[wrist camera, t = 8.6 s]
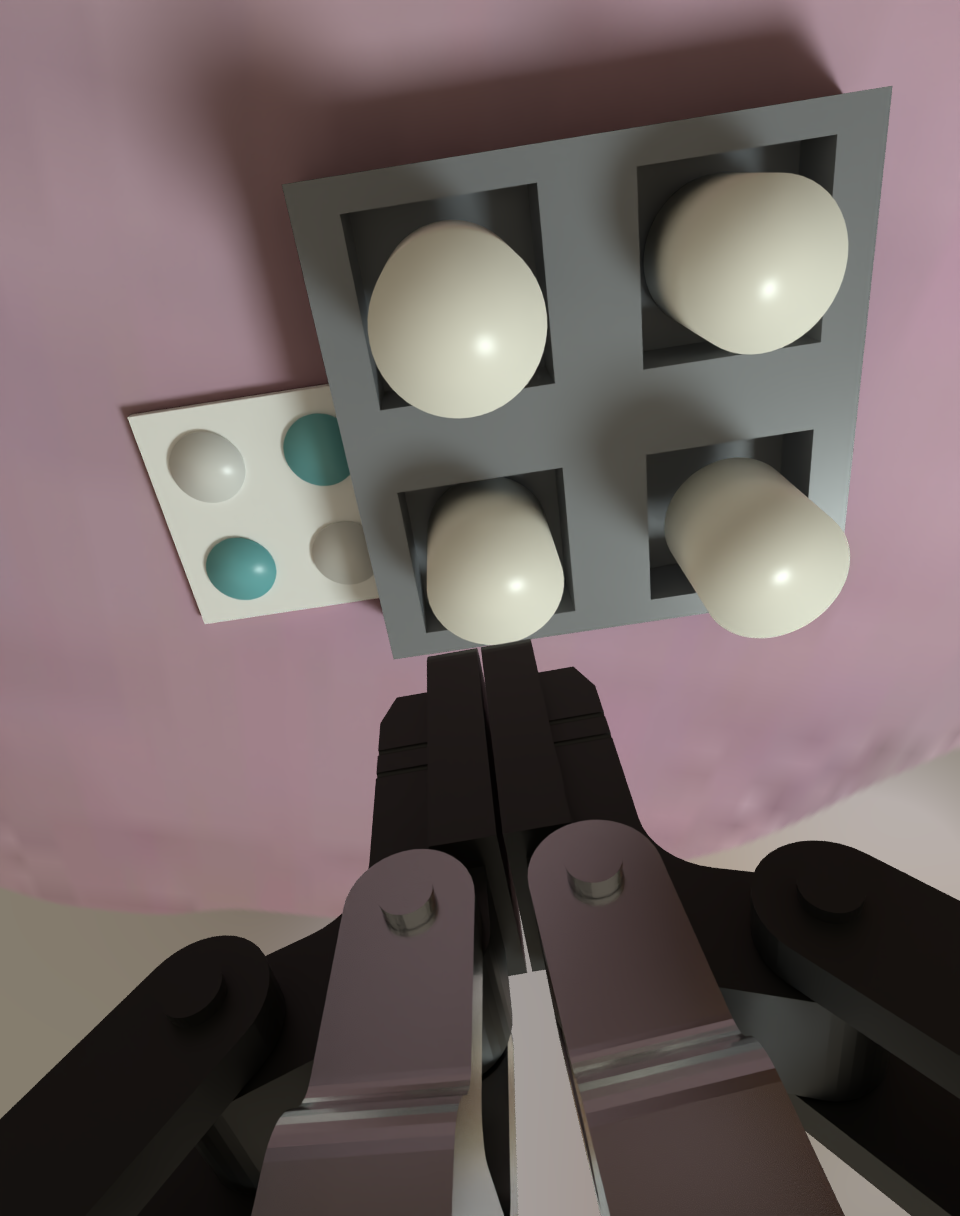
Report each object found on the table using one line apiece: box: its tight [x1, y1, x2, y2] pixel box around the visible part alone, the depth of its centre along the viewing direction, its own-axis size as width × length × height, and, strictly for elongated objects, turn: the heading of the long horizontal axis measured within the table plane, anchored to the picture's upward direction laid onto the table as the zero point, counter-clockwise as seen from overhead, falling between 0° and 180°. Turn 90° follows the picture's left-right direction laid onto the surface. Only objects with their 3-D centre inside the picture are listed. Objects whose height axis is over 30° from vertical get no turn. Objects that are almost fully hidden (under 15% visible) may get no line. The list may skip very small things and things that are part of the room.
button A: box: [368, 220, 547, 418], centre depth 23 cm, size 5×5×5 cm
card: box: [127, 384, 379, 624], centre depth 31 cm, size 9×9×1 cm
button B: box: [644, 172, 848, 355], centre depth 24 cm, size 5×5×5 cm
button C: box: [427, 477, 564, 645], centre depth 29 cm, size 5×5×5 cm
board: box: [282, 86, 892, 659], centre depth 28 cm, size 18×17×3 cm
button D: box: [664, 457, 850, 638], centre depth 27 cm, size 5×5×5 cm
